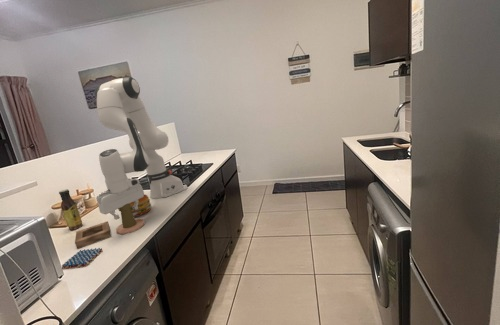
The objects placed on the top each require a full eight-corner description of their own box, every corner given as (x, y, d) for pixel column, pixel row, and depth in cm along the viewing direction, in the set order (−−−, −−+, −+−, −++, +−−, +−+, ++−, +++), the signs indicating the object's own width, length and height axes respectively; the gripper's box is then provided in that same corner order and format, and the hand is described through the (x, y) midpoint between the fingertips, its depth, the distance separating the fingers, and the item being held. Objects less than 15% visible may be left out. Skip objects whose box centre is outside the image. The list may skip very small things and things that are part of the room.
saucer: (142, 218, 129) (141, 216, 128) (146, 226, 119) (145, 224, 118) (115, 227, 123) (115, 225, 123) (118, 237, 113) (117, 234, 113)
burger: (148, 216, 131) (142, 197, 128) (121, 221, 130) (115, 202, 128) (155, 205, 144) (150, 188, 142) (131, 210, 144) (126, 193, 141)
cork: (121, 229, 117) (114, 207, 114) (124, 223, 123) (118, 202, 120) (135, 226, 118) (128, 204, 115) (138, 220, 124) (131, 199, 121)
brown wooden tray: (109, 226, 126) (107, 221, 125) (111, 236, 115) (109, 230, 114) (78, 237, 119) (76, 231, 119) (77, 248, 108) (74, 242, 108)
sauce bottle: (79, 228, 129) (66, 191, 124) (66, 231, 128) (52, 194, 124) (85, 223, 135) (73, 187, 131) (73, 225, 135) (59, 190, 130)
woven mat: (60, 271, 95) (58, 266, 94) (80, 254, 105) (79, 249, 104) (87, 268, 94) (85, 263, 93) (104, 251, 104) (103, 246, 103)
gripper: (99, 195, 106) (109, 226, 109) (141, 178, 122) (149, 205, 126) (91, 194, 109) (101, 224, 112) (133, 178, 126) (141, 204, 129)
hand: (126, 214), depth 119 cm, fingers open, 8 cm apart
